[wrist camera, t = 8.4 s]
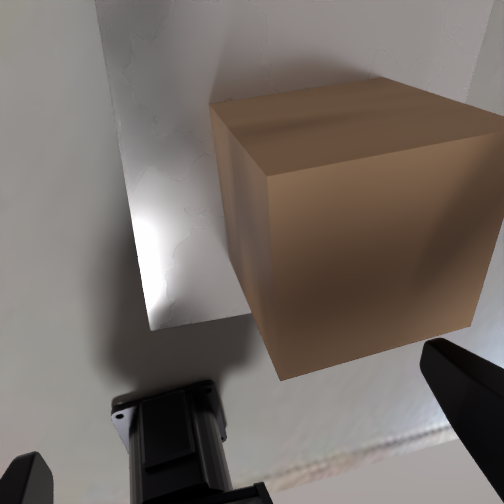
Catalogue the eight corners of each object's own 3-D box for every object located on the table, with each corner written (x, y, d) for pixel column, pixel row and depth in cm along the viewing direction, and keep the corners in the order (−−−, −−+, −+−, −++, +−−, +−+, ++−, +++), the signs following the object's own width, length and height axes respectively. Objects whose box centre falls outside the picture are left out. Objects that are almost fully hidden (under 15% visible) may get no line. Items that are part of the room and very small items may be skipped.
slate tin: (362, 233, 24) (413, 284, 20) (143, 264, 21) (150, 331, 17) (410, -25, 17) (502, -29, 13) (95, -33, 14) (87, -41, 10)
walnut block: (369, 229, 17) (470, 326, 12) (230, 261, 16) (280, 381, 11) (383, 77, 14) (531, 125, 9) (208, 103, 13) (267, 176, 8)
